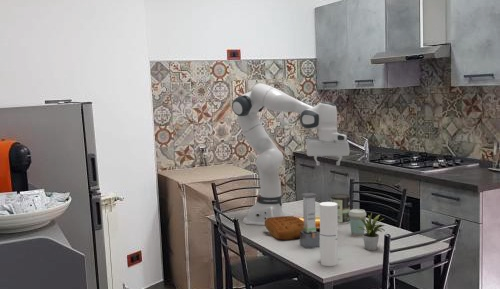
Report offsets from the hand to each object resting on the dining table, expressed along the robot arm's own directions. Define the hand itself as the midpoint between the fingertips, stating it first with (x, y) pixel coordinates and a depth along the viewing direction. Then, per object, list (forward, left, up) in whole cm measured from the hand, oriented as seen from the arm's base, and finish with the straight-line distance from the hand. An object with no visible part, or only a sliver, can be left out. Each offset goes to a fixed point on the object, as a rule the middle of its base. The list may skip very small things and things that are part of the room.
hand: (328, 165), depth 239 cm
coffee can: (+7, +28, -35) cm, 46 cm away
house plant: (+17, -17, -35) cm, 43 cm away
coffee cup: (+14, +4, -35) cm, 38 cm away
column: (-9, -17, -28) cm, 34 cm away
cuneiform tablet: (-20, +1, -35) cm, 41 cm away
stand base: (-9, -17, -35) cm, 40 cm away
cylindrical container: (-1, -36, -35) cm, 50 cm away
